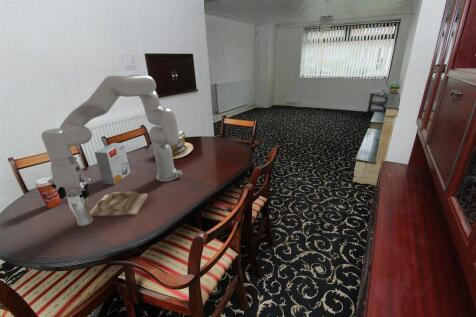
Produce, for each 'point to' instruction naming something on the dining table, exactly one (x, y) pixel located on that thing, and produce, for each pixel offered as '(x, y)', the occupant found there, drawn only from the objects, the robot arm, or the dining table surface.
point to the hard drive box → (112, 163)
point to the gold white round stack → (181, 147)
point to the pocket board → (119, 204)
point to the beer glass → (79, 207)
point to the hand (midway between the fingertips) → (75, 197)
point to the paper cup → (48, 192)
